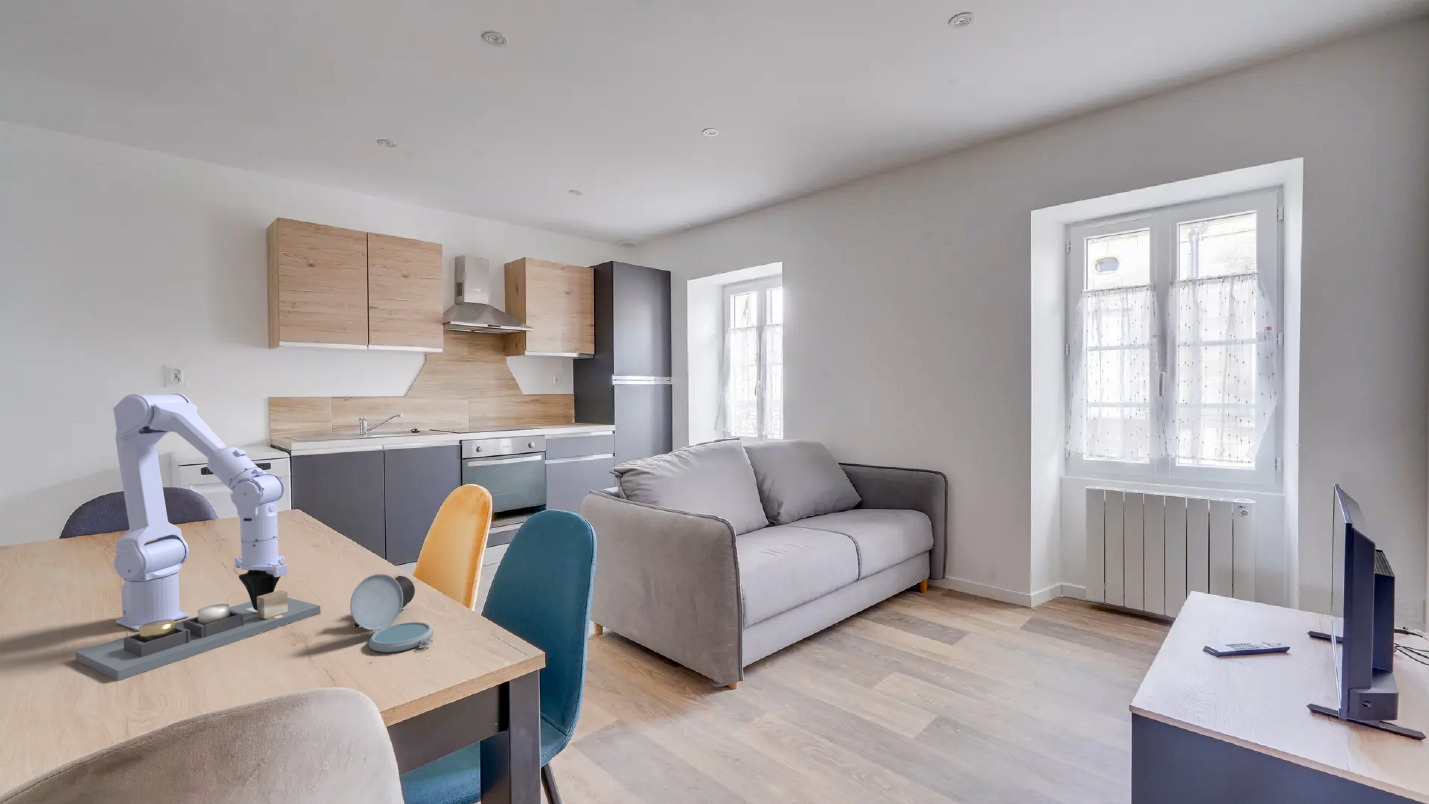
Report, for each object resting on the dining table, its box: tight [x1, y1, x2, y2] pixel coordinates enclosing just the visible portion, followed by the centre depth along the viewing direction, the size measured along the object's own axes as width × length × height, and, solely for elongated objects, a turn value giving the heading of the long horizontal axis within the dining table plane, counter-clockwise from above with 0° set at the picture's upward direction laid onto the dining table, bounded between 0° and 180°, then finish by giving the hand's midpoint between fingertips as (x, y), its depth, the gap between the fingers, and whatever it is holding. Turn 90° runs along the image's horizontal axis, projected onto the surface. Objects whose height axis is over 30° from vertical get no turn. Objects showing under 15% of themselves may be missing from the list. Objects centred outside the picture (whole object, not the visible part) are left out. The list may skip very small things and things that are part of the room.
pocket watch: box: [349, 573, 434, 653], centre depth 105 cm, size 10×11×15 cm
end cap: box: [352, 575, 416, 628], centre depth 116 cm, size 10×7×7 cm
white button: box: [197, 603, 230, 624], centre depth 108 cm, size 4×4×2 cm
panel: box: [74, 597, 322, 681], centre depth 109 cm, size 16×30×4 cm, turn 153°
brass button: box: [138, 619, 176, 641], centre depth 101 cm, size 4×4×2 cm
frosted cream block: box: [257, 589, 288, 619], centre depth 114 cm, size 2×4×4 cm, turn 153°
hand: (261, 608), depth 116 cm, fingers closed
